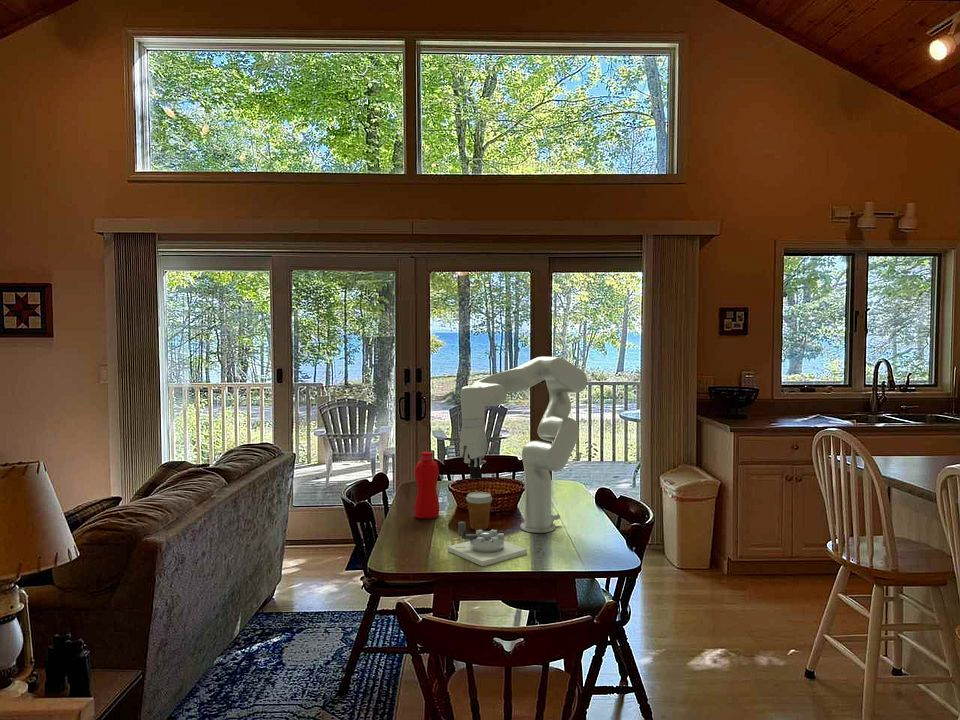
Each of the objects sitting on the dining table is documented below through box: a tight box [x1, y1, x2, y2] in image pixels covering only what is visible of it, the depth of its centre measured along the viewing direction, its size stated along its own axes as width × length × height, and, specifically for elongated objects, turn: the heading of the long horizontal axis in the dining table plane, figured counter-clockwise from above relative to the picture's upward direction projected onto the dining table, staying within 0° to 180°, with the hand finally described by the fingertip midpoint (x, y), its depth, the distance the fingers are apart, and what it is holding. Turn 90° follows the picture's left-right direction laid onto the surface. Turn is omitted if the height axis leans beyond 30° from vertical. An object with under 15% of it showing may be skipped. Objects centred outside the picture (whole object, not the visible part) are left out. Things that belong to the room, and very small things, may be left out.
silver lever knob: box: [457, 520, 505, 553], centre depth 203 cm, size 15×11×8 cm
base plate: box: [447, 540, 528, 567], centre depth 204 cm, size 18×18×2 cm
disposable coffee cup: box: [465, 491, 493, 531], centre depth 231 cm, size 10×10×12 cm
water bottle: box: [414, 451, 440, 520], centre depth 246 cm, size 9×11×25 cm
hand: (475, 477), depth 210 cm, fingers closed
